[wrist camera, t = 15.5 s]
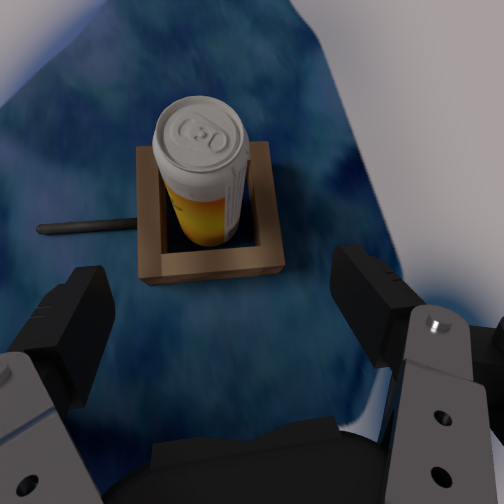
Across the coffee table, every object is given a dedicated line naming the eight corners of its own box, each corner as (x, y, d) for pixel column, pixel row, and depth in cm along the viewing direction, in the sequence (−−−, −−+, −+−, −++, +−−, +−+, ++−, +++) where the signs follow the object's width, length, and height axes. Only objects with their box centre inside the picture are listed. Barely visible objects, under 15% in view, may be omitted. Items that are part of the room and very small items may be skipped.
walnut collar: (35, 296, 30) (6, 289, 26) (43, 173, 33) (19, 151, 29) (277, 273, 32) (285, 265, 28) (263, 162, 36) (267, 141, 32)
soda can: (198, 186, 34) (180, 75, 20) (248, 210, 34) (267, 116, 20) (170, 232, 32) (128, 149, 18) (222, 258, 32) (222, 194, 18)
